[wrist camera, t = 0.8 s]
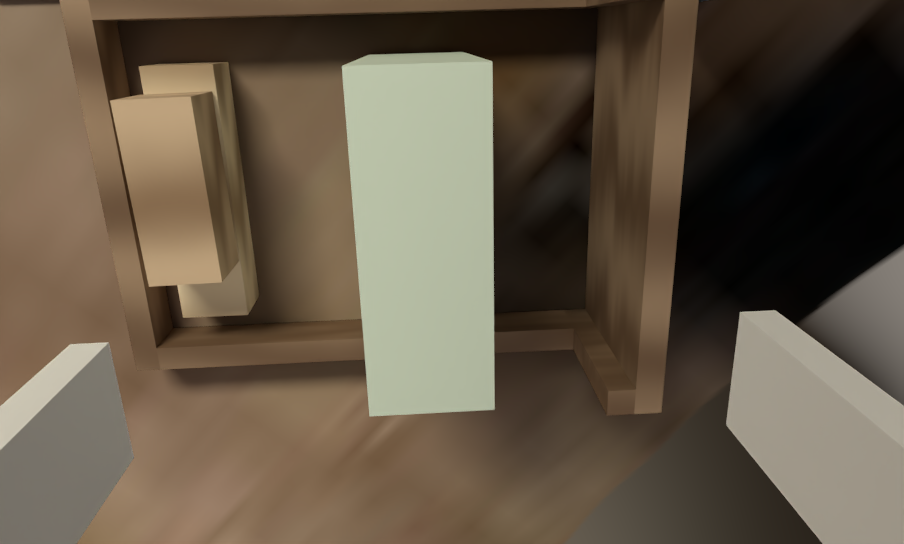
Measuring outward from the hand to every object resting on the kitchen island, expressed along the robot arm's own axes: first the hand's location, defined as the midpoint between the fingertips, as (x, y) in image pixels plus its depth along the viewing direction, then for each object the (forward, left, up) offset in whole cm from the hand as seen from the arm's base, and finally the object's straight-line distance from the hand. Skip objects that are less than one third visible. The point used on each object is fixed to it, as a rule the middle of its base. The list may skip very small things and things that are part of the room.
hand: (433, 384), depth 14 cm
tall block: (0, 0, -21) cm, 21 cm away
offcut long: (0, -11, -22) cm, 24 cm away
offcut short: (-1, -11, -19) cm, 22 cm away
